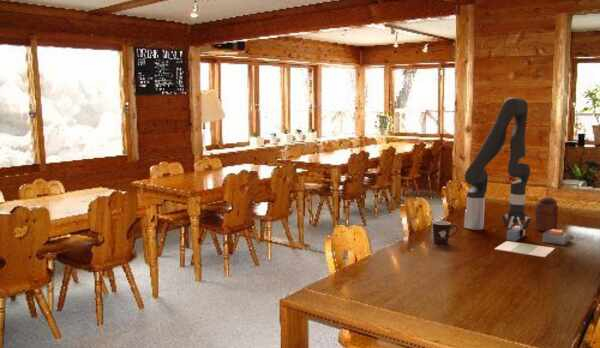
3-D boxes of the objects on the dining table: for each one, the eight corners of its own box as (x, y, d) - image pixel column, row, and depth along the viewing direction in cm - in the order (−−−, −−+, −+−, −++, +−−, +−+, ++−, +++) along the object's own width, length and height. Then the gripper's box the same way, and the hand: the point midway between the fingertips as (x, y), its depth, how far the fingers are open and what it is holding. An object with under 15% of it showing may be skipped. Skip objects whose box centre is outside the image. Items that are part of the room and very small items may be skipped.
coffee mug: (429, 244, 264) (430, 223, 262) (434, 240, 271) (434, 220, 270) (454, 246, 258) (454, 226, 257) (458, 242, 266) (458, 222, 265)
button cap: (549, 236, 268) (549, 230, 267) (551, 234, 271) (552, 228, 271) (560, 238, 264) (560, 232, 264) (562, 236, 268) (563, 230, 268)
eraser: (506, 239, 272) (506, 230, 271) (515, 234, 283) (515, 225, 283) (515, 241, 269) (516, 232, 268) (524, 235, 281) (524, 226, 280)
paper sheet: (494, 249, 254) (494, 248, 254) (506, 241, 268) (506, 240, 268) (544, 257, 241) (544, 256, 241) (554, 248, 255) (554, 247, 255)
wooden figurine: (559, 230, 291) (561, 197, 288) (556, 233, 286) (558, 199, 283) (535, 227, 298) (537, 195, 295) (532, 229, 293) (534, 196, 290)
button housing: (542, 241, 267) (542, 233, 267) (547, 237, 275) (547, 230, 275) (564, 245, 261) (564, 236, 261) (569, 240, 269) (569, 232, 269)
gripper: (534, 203, 272) (532, 236, 275) (505, 200, 281) (503, 232, 283) (530, 205, 266) (528, 239, 269) (500, 202, 275) (498, 235, 277)
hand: (515, 235), depth 276 cm, fingers closed on eraser, 4 cm apart
